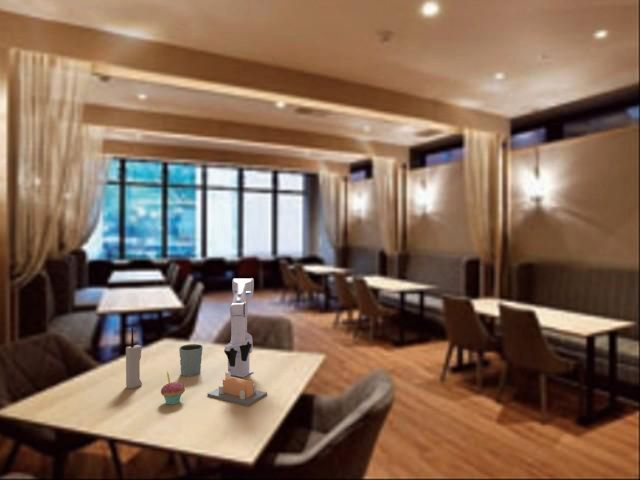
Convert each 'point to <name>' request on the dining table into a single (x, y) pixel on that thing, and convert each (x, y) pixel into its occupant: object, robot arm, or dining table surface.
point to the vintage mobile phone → (133, 365)
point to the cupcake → (172, 391)
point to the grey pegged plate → (236, 399)
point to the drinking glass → (190, 359)
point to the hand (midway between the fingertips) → (238, 363)
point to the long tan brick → (237, 385)
